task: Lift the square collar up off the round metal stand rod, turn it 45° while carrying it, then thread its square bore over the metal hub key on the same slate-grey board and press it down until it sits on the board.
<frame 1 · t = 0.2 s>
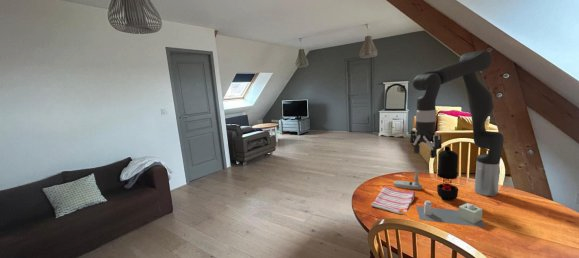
hand: (424, 155, 106), 28 cm above the table, fingers open, 8 cm apart
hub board: (448, 218, 105), on the table
filter: (447, 200, 121), on the table
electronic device: (407, 187, 139), on the table
dish towel: (393, 202, 124), on the table
collar: (469, 218, 102), point 1 cm above the table, touching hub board
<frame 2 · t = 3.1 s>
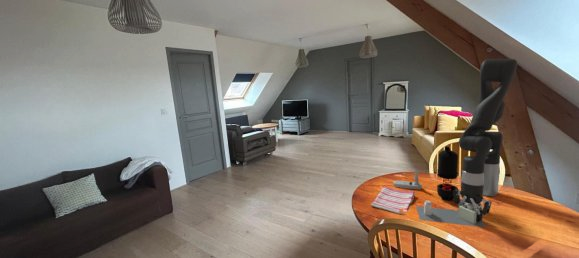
hand: (469, 217, 102), 2 cm above the table, fingers closed on collar, 6 cm apart
collar: (469, 218, 102), point 2 cm above the table, touching gripper, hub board
everything else where it was.
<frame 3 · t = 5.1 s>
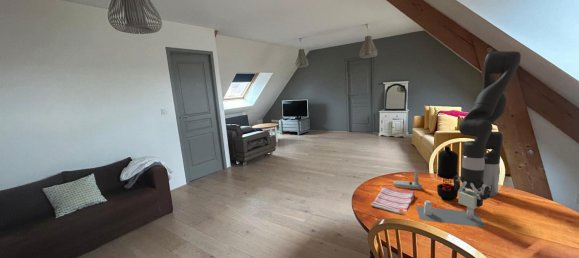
hand: (470, 203, 101), 9 cm above the table, fingers closed on collar, 6 cm apart
collar: (470, 203, 101), point 8 cm above the table, touching gripper
everything else where it was.
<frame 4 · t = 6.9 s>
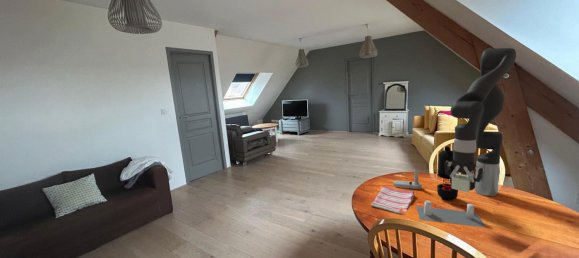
hand: (462, 187, 100), 16 cm above the table, fingers closed on collar, 6 cm apart
collar: (462, 188, 100), point 15 cm above the table, touching gripper
everything else where it was.
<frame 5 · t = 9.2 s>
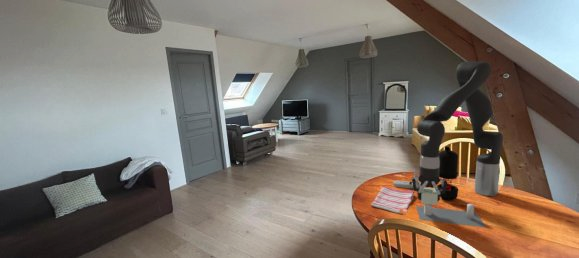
hand: (428, 200, 107), 8 cm above the table, fingers closed on collar, 6 cm apart
collar: (428, 201, 107), point 8 cm above the table, touching gripper
everything else where it was.
when the fingers open (2 cm above the table, at t = 11.0 s): collar stays where it is, resting on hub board.
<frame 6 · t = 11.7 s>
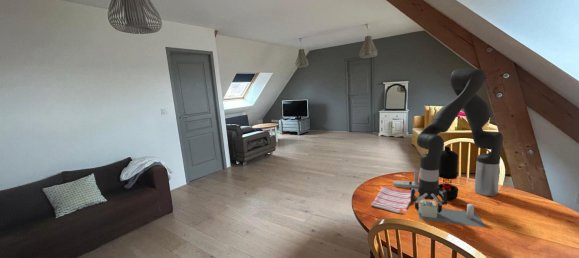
hand: (427, 210, 108), 3 cm above the table, fingers open, 8 cm apart
collar: (427, 213, 108), point 1 cm above the table, touching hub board
everything else where it was.
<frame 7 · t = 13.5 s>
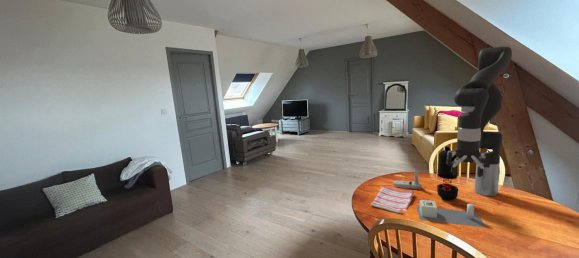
hand: (466, 175, 99), 21 cm above the table, fingers open, 8 cm apart
nothing on the table moved.
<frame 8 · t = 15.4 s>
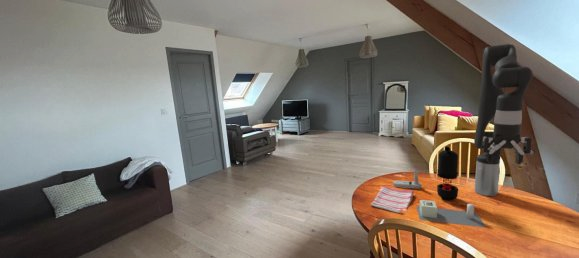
hand: (503, 163, 92), 28 cm above the table, fingers open, 8 cm apart
nothing on the table moved.
at the end: collar 0.0 cm from the target spot, point 1.5 cm above the table; collar tilted 0°; the gripper is holding nothing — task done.
